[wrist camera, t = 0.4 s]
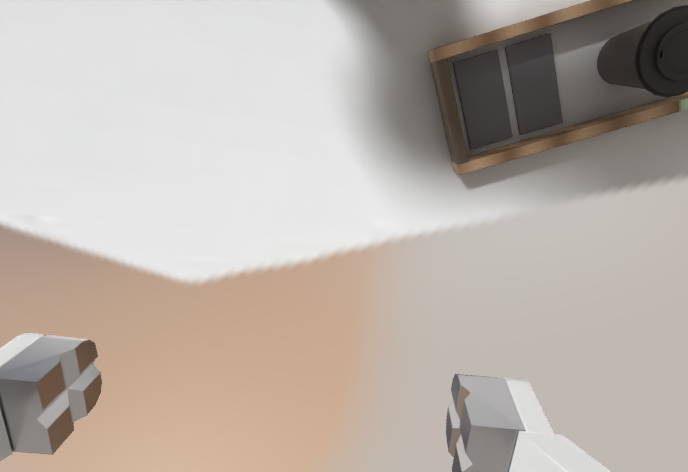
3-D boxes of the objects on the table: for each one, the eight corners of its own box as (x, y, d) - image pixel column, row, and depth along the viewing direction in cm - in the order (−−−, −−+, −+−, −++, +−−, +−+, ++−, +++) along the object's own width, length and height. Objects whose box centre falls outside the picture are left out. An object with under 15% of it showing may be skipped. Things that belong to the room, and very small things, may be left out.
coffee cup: (572, 50, 50) (628, 40, 40) (638, 4, 49) (712, -18, 39) (603, 111, 52) (663, 114, 42) (667, 68, 51) (744, 62, 41)
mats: (470, 148, 53) (471, 149, 53) (453, 63, 50) (453, 63, 50) (561, 122, 52) (562, 122, 52) (549, 33, 49) (550, 33, 49)
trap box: (453, 170, 54) (462, 176, 50) (427, 52, 50) (435, 48, 46) (755, 82, 51) (789, 81, 47) (755, -51, 47) (791, -63, 43)
